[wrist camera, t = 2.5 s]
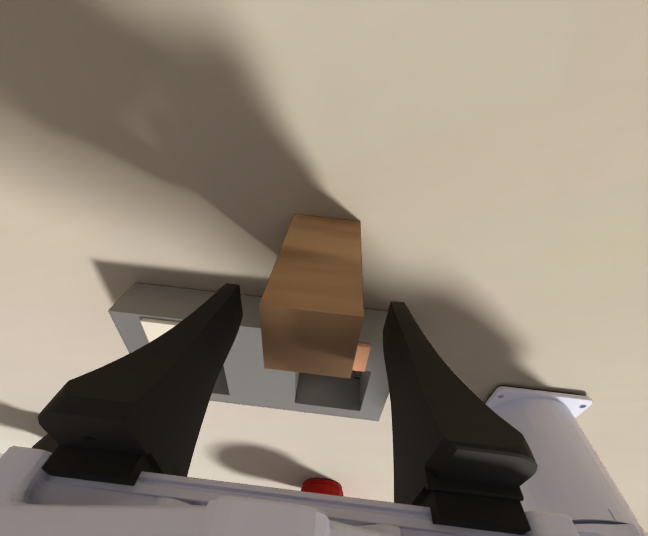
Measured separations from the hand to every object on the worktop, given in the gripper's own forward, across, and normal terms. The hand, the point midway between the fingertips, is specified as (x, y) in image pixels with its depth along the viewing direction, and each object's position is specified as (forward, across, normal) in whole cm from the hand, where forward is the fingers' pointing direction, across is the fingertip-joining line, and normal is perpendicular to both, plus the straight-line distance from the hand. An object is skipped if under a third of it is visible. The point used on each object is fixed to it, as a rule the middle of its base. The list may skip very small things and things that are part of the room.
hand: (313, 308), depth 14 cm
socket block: (+6, +4, +10) cm, 12 cm away
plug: (+6, 0, 0) cm, 6 cm away
